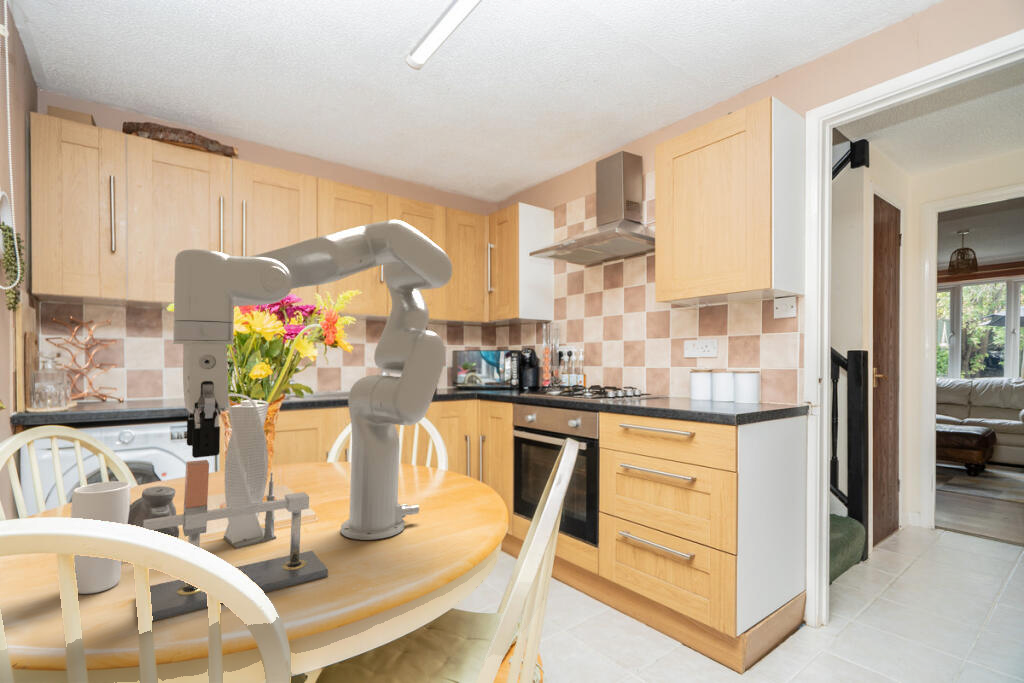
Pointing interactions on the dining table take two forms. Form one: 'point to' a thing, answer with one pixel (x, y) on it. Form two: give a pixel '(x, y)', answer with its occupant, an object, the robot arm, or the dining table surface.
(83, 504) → the grey cup
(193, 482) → the sliding leg
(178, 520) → the divider frame
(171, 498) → the pipe fitting
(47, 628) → the dining table surface
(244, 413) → the skyscraper
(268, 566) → the bolt plate
